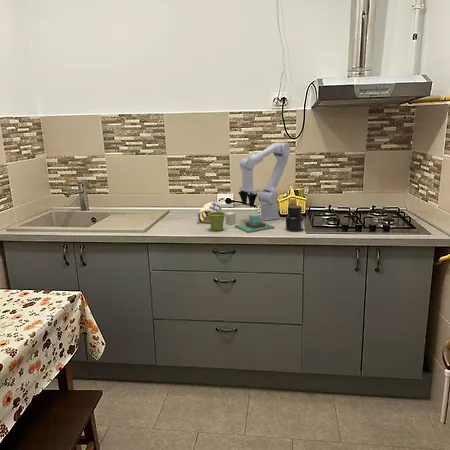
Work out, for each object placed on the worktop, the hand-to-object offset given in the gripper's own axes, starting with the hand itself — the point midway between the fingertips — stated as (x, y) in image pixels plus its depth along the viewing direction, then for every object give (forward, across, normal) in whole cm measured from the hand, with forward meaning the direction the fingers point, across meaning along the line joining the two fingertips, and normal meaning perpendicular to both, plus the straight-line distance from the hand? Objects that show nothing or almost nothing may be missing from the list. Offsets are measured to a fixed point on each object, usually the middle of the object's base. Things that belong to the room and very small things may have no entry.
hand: (248, 205), depth 234 cm
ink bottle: (+10, +26, +12) cm, 30 cm away
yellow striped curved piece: (+10, -22, -12) cm, 27 cm away
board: (+10, +11, -3) cm, 15 cm away
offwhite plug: (+10, -4, -9) cm, 14 cm away
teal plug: (+9, +12, -3) cm, 15 cm away
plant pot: (+10, +3, -21) cm, 23 cm away
